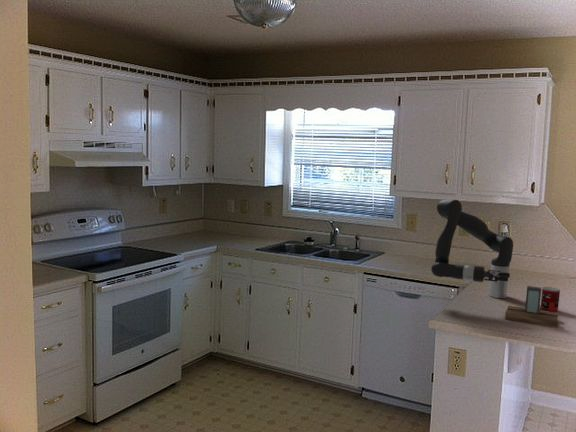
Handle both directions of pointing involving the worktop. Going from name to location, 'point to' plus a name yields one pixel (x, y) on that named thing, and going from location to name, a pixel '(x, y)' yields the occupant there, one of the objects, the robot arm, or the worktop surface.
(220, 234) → the worktop surface
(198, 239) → the worktop surface
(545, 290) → the canned food
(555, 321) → the brown grooved block
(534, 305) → the grey rectangular block
